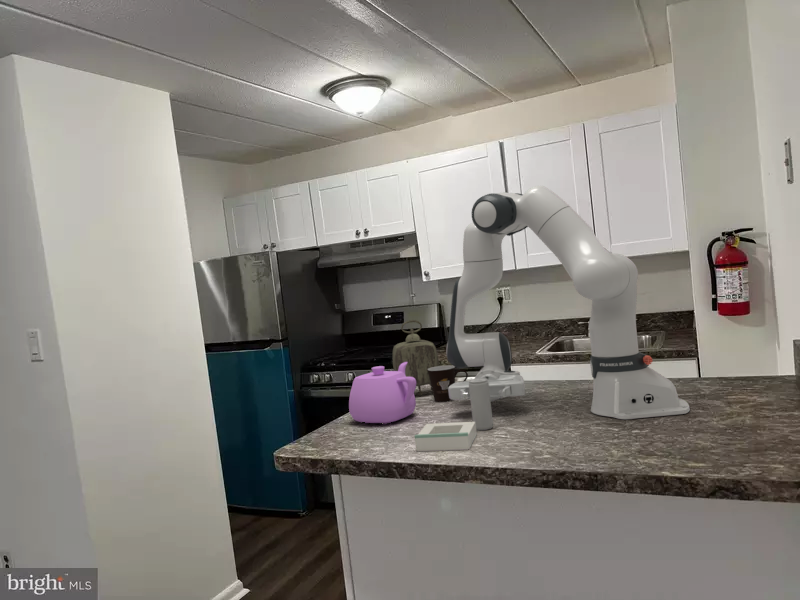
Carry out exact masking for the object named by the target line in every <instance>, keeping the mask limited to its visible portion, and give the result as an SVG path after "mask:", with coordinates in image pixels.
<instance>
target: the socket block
mask: <svg viewBox="0 0 800 600" xmlns="http://www.w3.org/2000/svg"><path fill="white" fill-rule="evenodd" d="M477 434H478V433H477V430H476V423H475V422H473V421H462V422H440V423H426V424H425V425H424V426H423V427H422V428H421V430H420V431H419V432H418V434H415V435H414V443H415V451H416V452H437V451H438V452H439V451H442V452H443V451H469V450H470V449H471V447H472V445H473V442H474V441H475V438H476V436H477ZM468 449H469V450H468Z"/></svg>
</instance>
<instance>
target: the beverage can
mask: <svg viewBox="0 0 800 600" xmlns="http://www.w3.org/2000/svg"><path fill="white" fill-rule="evenodd" d="M468 381H469V391H470V399H469V401H470V407H471V408H470V409H471V416H472V417H471V418H472V422H475V423H476V431H489V430H491V429H492V428H493V427H494V421H493V411H492V405H491V402H492V401H490V393H489V384H488V381H487V379H486V378H477V379H475V378H472V379H469V380H468Z"/></svg>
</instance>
